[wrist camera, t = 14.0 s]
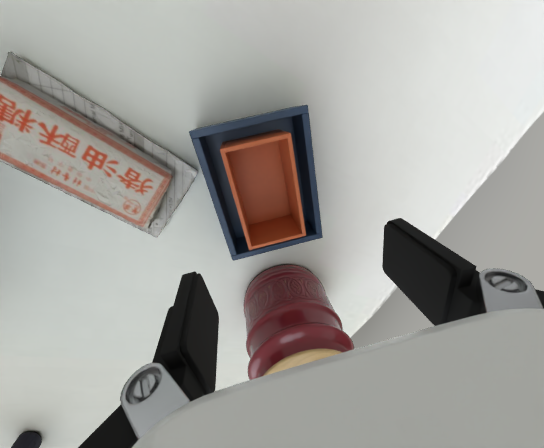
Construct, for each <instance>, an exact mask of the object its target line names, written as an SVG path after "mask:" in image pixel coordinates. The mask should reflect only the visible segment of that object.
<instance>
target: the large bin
mask: <svg viewBox="0 0 544 448" xmlns="http://www.w3.org/2000/svg"><path fill="white" fill-rule="evenodd" d="M277 129H279V130H283V131H286V132H289V133H291V137H292V144H293V151H294V157H295V164H296V171H297V177H298V184H299V191H300V197H301V204H302V211H303V218H304V224H305V231H306V236H302V237H299V238H295V239H291V240H287V241H283V242H279V243H275V244H271V245H267V246H263V247H260V248H256V249H252V250H249V248H248V245H247V241H246V238H245V234H244V231H243V228H242V224H241V221H240V217H239V214H238V210H237V207H236V204H235V200H234V197H233V193H232V190H231V186H230V183H229V180H228V176H227V173H226V169H225V166H224V162H223V159H222V155H221V152H220V147H221V145H222V142H225V141H229V140H234V139H238V138H242V137H247V136H251V135H255V134H260V133H264V132H269V131H273V130H277ZM189 133H190V136H191V138H192V142H193V145H194V148H195V151H196V154H197V157H198V159H199V162H200V165H201V168H202V171H203V174H204V177H205V180H206V183H207V186H208V189H209V192H210V195H211V198H212V201H213V204H214V207H215V210H216V213H217V216H218V218H219V221H220V224H221V227H222V230H223V233H224V236H225V239H226V242H227V245H228V248H229V251H230V254H231V257H232V260H233V261H234V260H237V259H241V258H245V257H249V256H253V255H257V254H261V253H265V252H268V251H272V250H276V249H280V248H284V247H288V246H292V245H296V244H299V243H303V242H307V241H311V240H315V239H319V238H322V229H321V220H320V211H319V202H318V193H317V184H316V175H315V166H314V157H313V148H312V139H311V130H310V121H309V113H308V105H302V106H295V107H290V108H286V109H281V110H277V111H272V112H268V113H263V114H259V115H254V116H250V117H245V118H241V119H236V120H232V121H228V122H223V123H219V124H214V125H210V126H205V127H201V128H196V129H194V130H191V131H189Z"/></svg>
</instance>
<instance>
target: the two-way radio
mask: <svg viewBox="0 0 544 448" xmlns="http://www.w3.org/2000/svg"><path fill="white" fill-rule="evenodd" d="M41 443H42V441H41V437H40V436H39V434H36V432H25V433H22V434H21V435H20V436H19V437H18V438H17V440H16V441H15V443H14V444H13V446H12V447H11V448H39V447H40V445H41Z"/></svg>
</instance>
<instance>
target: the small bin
mask: <svg viewBox="0 0 544 448" xmlns="http://www.w3.org/2000/svg"><path fill="white" fill-rule="evenodd" d="M220 152H221V155H222V159H223V162H224V166H225V169H226V173H227V176H228V180H229V183H230V186H231V190H232V193H233V197H234V200H235V204H236V207H237V210H238V214H239V217H240V221H241V224H242V228H243V231H244V234H245V238H246V241H247V245H248V248H249V250H252V249H256V248H260V247H263V246H267V245H271V244H275V243H279V242H283V241H287V240H291V239H295V238H299V237H302V236H306V231H305V224H304V218H303V211H302V204H301V197H300V191H299V184H298V177H297V171H296V164H295V157H294V151H293V144H292V137H291V133H289V132H286V131H283V130H279V129H277V130H273V131H269V132H264V133H260V134H255V135H251V136H247V137H242V138H238V139H234V140H229V141H225V142H222V145H221V147H220Z"/></svg>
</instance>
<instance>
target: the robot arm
mask: <svg viewBox="0 0 544 448" xmlns="http://www.w3.org/2000/svg"><path fill="white" fill-rule="evenodd" d="M383 270H384V272H385V274H386V275H387V276H388V277H389V278H390V279H391V280H392V281H393V282H394V283H395V284H396V285H397V286H398V287H399V288H400V290H402V292H403V293H404V294H405V295H406V296H407V297H408V298H409V299H410V300H411V301H412V302H413V303H414V304H415V305H416V306H417V307H418V309H419V310H420V311H421V312H422V313H423V314H424V315H425V316H426V317H427V318H428V319H429V320H430V321H431V322H432V323H433V324H434V325H435V326H434V327H430V328H427V329H423V330H420V331H416V332H413V333H409V334H406V335H402V336H398V337H395V338H391V339H388V340H385V341H381V342H378V343H374V344H371V345H367V346H364V347H361V348H357V349H353V350H350V351H347V352H343V353H340V354H336V355H333V356H329V357H326V358H323V359H319V360H316V361H312V362H309V363H306V364H302V365H299V366H295V367H292V368H289V369H285V370H282V371H279V372H275V373H272V374H269V375H265V376H262V377H259V378H255V379H252V380H249V381H246V382H243V383H240V384H236V385H233V386H230V387H227V388H224V389H221V390H218V391H215V383H216V363H217V344H218V324H219V316H218V312H217V309H216V307H215V305H214V303H213V300H212V298H211V296H210V294H209V291H208V289H207V287H206V285H205V282H204V280H203V278H202V276H201V274H197V273H196V272H191V273H188V274H184V275H182V278H181V281H180V285H179V288H178V292H177V295H176V299H175V303H174V306H172V307H170V308H169V310H168V313H167V316H166V319H165V323H164V326H163V329H162V333H161V336H160V339H159V342H158V346H157V349H156V352H155V356H154V359H153V362H152V363H150V364H147V365H145V366H143V367H141V368H140V369H138V370H137V371H136V372H135V373H134V374H133V375H132V376H131V377H130V378H129V379H128V381H127V382H126V384H125V385H124V387H123V390H122V392H121V397H120V401H121V405H120V406H119V407H118V408H117V409H116V410H115V411H114V412H113V413H112V414H111V415H110V416H109V417H108V418H107V419H106V420H105V421H104V422H103V423H102V424H101V425H100V426H99V427H98V428H97V429H96V430H95V431H94V432H93V433H92V434H91V435H90V436H89V437H88V438H87V439H86V440H85V441H84V442H83V443H82V444H81V445H80V446H79V447H78V448H544V291H539V290H535V288H534V286H533V285H532V283H531V282H530V281H529V280H527V279H526V278H525V277H523V276H521V275H519V274H517V273H514V272H512V271H508V270H504V269H495V268H493V269H486V270H483V271H482V272H481V273H479V272H478V271H476V266H475V265H473V264H472V263H470V262H469V261H467V260H465V259H464V258H462V257H461V256H459V255H458V254H456V253H454V252H453V251H451V250H450V249H448V248H446V247H445V246H443V245H442V244H440V243H439V242H437V241H436V240H434V239H433V238H431V237H430V236H428V235H427V234H425V233H423V232H422V231H420V230H419V229H417V228H416V227H414V226H413V225H411V224H409V223H408V222H406V221H405V220H403V219H401V218H398V219H394V220H391V221H388V222H387V225H385V227H384V245H383ZM214 391H215V392H214Z"/></svg>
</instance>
